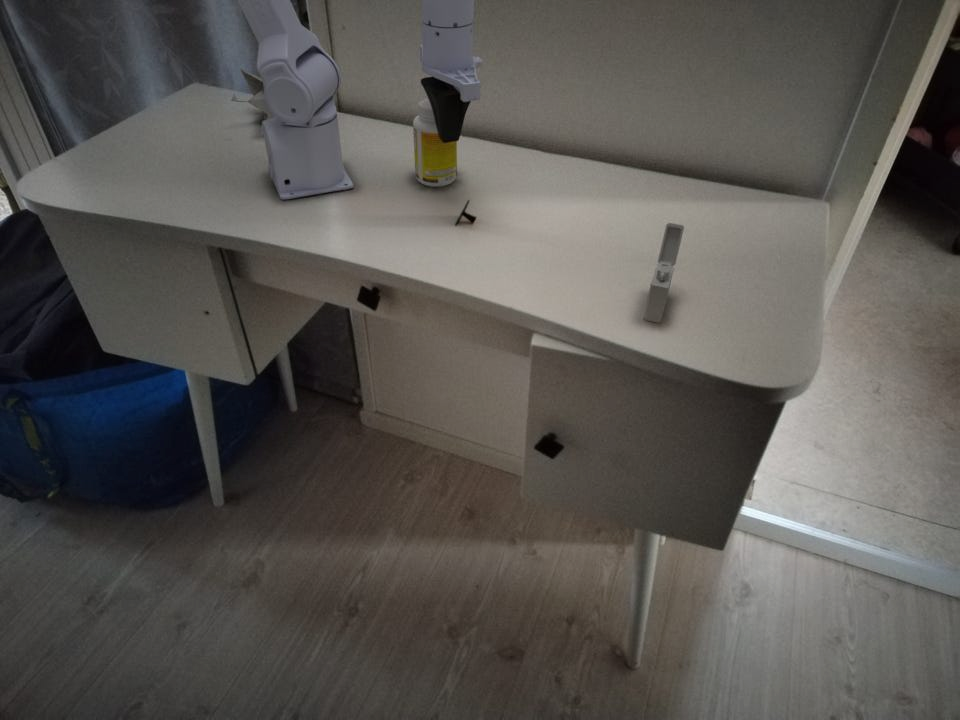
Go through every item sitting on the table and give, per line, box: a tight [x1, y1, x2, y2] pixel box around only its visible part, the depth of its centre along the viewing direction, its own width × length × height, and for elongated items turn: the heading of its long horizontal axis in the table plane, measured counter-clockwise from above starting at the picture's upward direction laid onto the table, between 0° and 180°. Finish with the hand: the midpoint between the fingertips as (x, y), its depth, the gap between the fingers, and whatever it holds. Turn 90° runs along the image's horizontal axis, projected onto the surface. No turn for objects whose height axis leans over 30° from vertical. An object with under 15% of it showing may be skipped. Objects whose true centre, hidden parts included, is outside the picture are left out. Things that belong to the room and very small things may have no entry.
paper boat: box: [230, 69, 276, 137], centre depth 107 cm, size 12×6×9 cm
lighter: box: [643, 222, 685, 324], centre depth 71 cm, size 7×2×8 cm, turn 160°
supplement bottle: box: [412, 97, 458, 188], centre depth 92 cm, size 6×6×10 cm
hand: (449, 139), depth 86 cm, fingers closed
